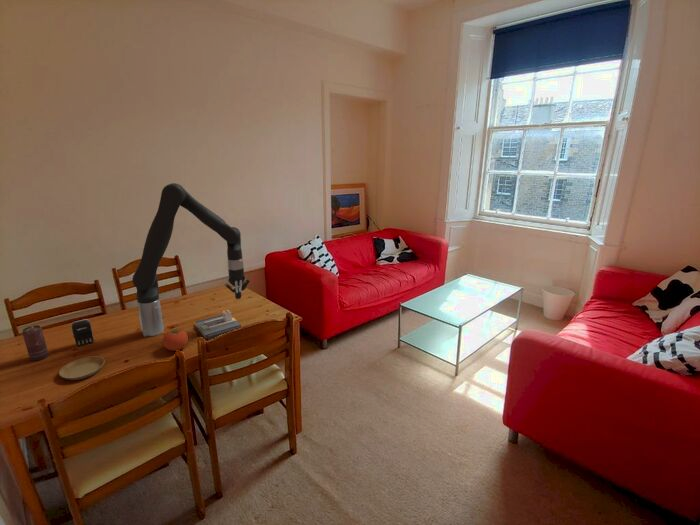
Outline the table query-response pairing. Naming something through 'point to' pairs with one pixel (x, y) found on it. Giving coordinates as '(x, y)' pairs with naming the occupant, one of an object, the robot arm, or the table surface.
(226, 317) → the breaker lever
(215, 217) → the robot arm
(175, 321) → the table surface
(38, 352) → the can
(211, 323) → the panel
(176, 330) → the tomato
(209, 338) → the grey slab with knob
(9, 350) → the table surface
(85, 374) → the plant saucer
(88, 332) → the battery charger
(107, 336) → the table surface
